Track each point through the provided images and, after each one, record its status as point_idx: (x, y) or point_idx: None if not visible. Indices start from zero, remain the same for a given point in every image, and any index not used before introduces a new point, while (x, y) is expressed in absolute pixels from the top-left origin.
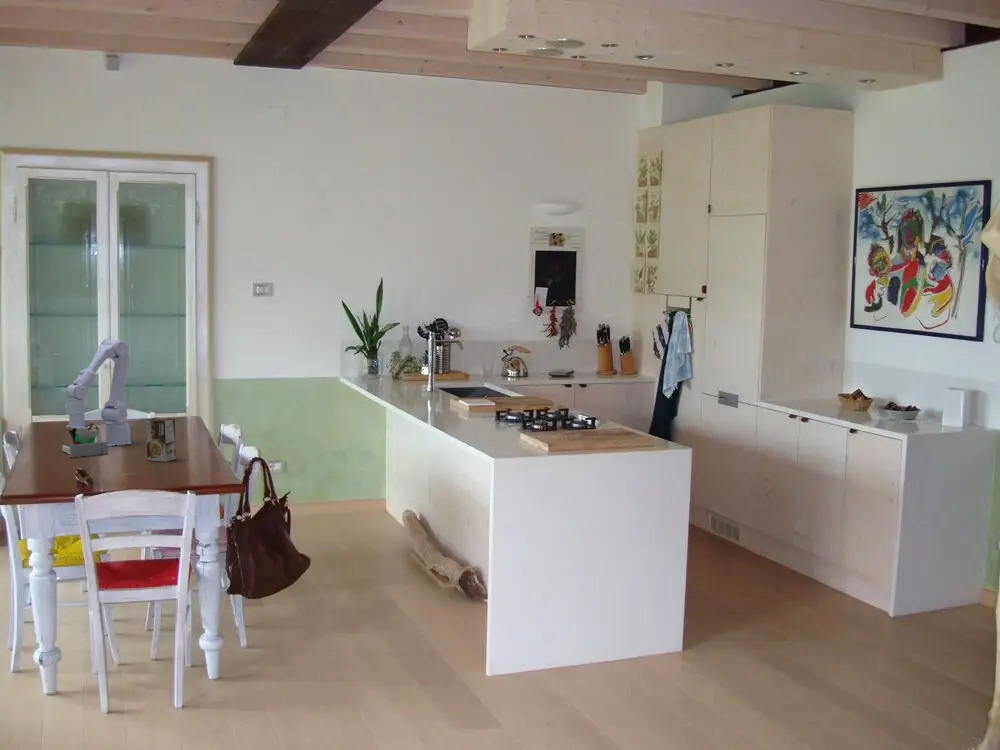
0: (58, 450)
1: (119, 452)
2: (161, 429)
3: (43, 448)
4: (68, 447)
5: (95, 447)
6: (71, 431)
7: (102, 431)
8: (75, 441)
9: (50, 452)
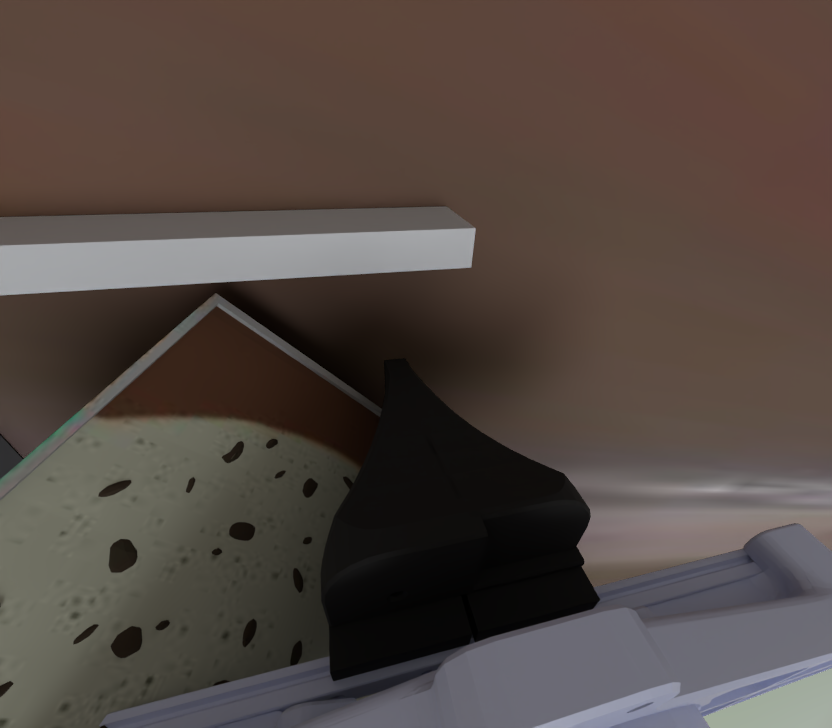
0: (558, 187)
1: None
2: None
3: (825, 54)
4: (227, 265)
5: None
6: (360, 551)
7: (806, 512)
8: (72, 426)
9: (501, 10)
